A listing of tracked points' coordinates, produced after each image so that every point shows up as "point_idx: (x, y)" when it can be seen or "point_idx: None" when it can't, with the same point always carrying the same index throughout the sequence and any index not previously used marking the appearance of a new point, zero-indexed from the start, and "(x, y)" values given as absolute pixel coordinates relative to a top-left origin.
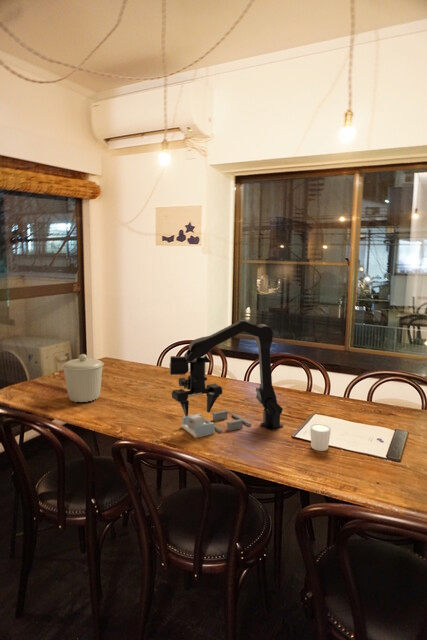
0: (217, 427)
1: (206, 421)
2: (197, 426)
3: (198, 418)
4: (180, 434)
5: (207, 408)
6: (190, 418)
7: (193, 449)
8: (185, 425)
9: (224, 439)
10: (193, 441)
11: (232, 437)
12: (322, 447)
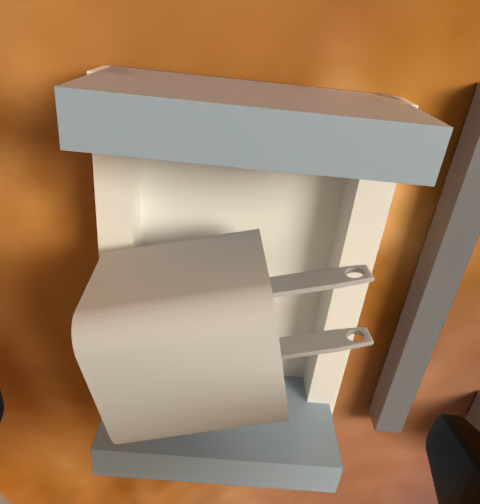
0: (409, 377)
1: (357, 332)
2: (118, 469)
3: (195, 430)
4: (11, 249)
5: (464, 487)
6: (88, 367)
7: (22, 493)
8: (104, 179)
9: (308, 491)
10: (74, 415)
11: (381, 495)
12: None
